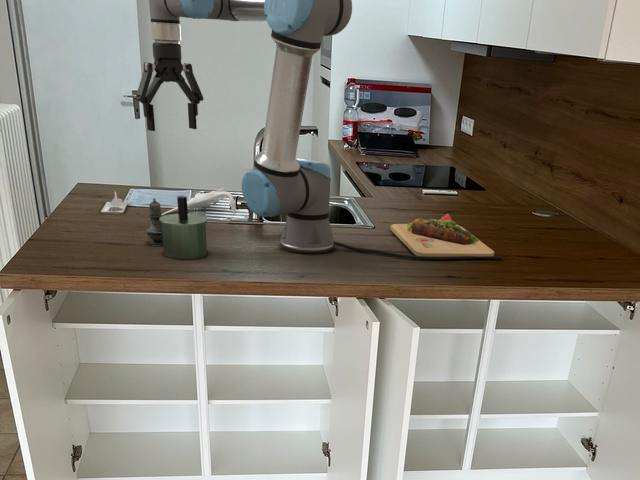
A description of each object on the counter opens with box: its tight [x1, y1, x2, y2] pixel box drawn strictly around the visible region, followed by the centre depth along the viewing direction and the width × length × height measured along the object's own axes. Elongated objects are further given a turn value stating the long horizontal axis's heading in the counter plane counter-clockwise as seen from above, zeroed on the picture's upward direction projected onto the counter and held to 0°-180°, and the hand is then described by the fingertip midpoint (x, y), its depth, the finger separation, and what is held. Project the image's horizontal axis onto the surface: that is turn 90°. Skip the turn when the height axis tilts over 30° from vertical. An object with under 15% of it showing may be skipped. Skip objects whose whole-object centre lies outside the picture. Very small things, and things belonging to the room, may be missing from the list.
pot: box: [162, 222, 208, 260], centre depth 197 cm, size 11×11×8 cm
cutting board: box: [389, 213, 495, 257], centre depth 222 cm, size 35×23×8 cm
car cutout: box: [100, 190, 129, 215], centre depth 239 cm, size 15×7×4 cm, turn 9°
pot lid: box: [159, 195, 208, 226], centre depth 193 cm, size 12×12×7 cm
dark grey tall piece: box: [145, 197, 163, 247], centre depth 203 cm, size 6×6×12 cm
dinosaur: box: [161, 186, 237, 216], centre depth 244 cm, size 25×9×16 cm
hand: (172, 129), depth 210 cm, fingers open, 13 cm apart
